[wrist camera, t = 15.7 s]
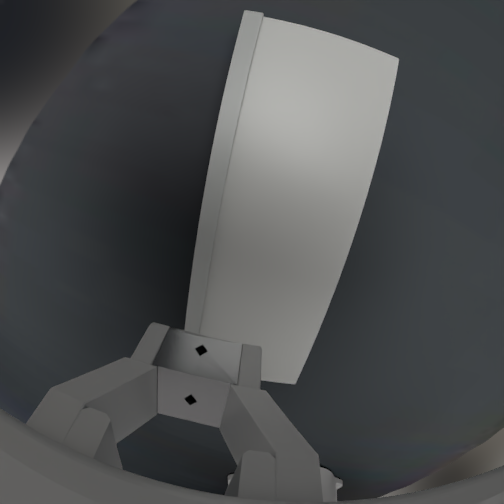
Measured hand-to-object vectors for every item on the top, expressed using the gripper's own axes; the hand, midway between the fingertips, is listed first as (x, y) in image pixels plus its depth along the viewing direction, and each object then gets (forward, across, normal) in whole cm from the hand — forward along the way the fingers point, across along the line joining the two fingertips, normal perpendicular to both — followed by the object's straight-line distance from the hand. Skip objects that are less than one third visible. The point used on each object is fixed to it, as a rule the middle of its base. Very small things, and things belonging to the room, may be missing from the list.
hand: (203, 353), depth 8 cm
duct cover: (+11, -2, -1) cm, 11 cm away
